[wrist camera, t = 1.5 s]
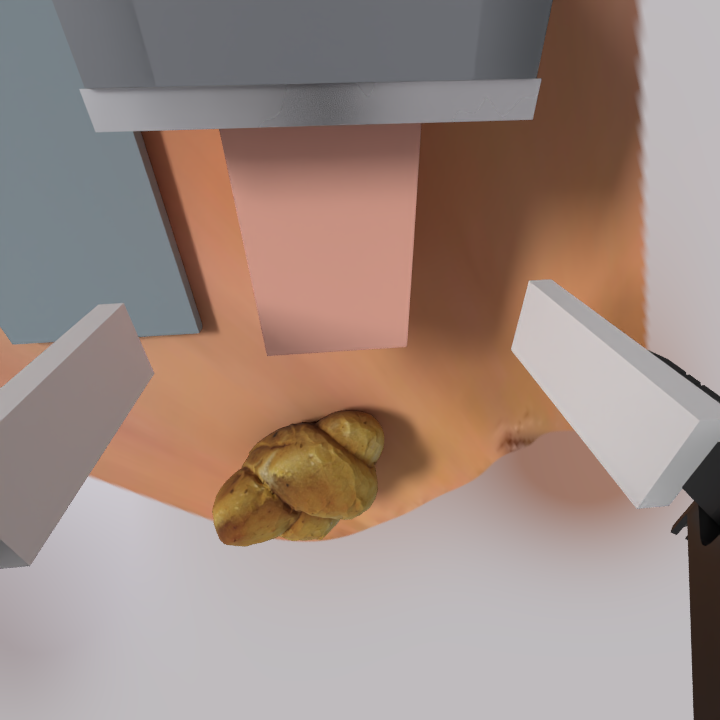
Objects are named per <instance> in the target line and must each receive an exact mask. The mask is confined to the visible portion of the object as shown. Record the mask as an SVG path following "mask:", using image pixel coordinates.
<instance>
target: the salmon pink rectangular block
mask: <svg viewBox="0 0 720 720" xmlns="http://www.w3.org/2000/svg"><path fill="white" fill-rule="evenodd" d="M219 131H220V135H221V140H222V145H223V149H224V154H225V159H226V164H227V168H228V173H229V178H230V183H231V187H232V192H233V197H234V201H235V206H236V211H237V216H238V220H239V225H240V230H241V235H242V239H243V244H244V249H245V253H246V258H247V263H248V268H249V272H250V277H251V282H252V287H253V291H254V296H255V301H256V305H257V310H258V315H259V320H260V324H261V329H262V334H263V339H264V343H265V348H266V353H267V356H273V355H289V354H304V353H319V352H335V351H350V350H365V349H381V348H396V347H407V337H408V322H409V306H410V291H411V276H412V260H413V245H414V229H415V214H416V198H417V183H418V168H419V152H420V137H421V123H401V124H366V125H332V126H297V127H263V128H229V129H219Z"/></svg>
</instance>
